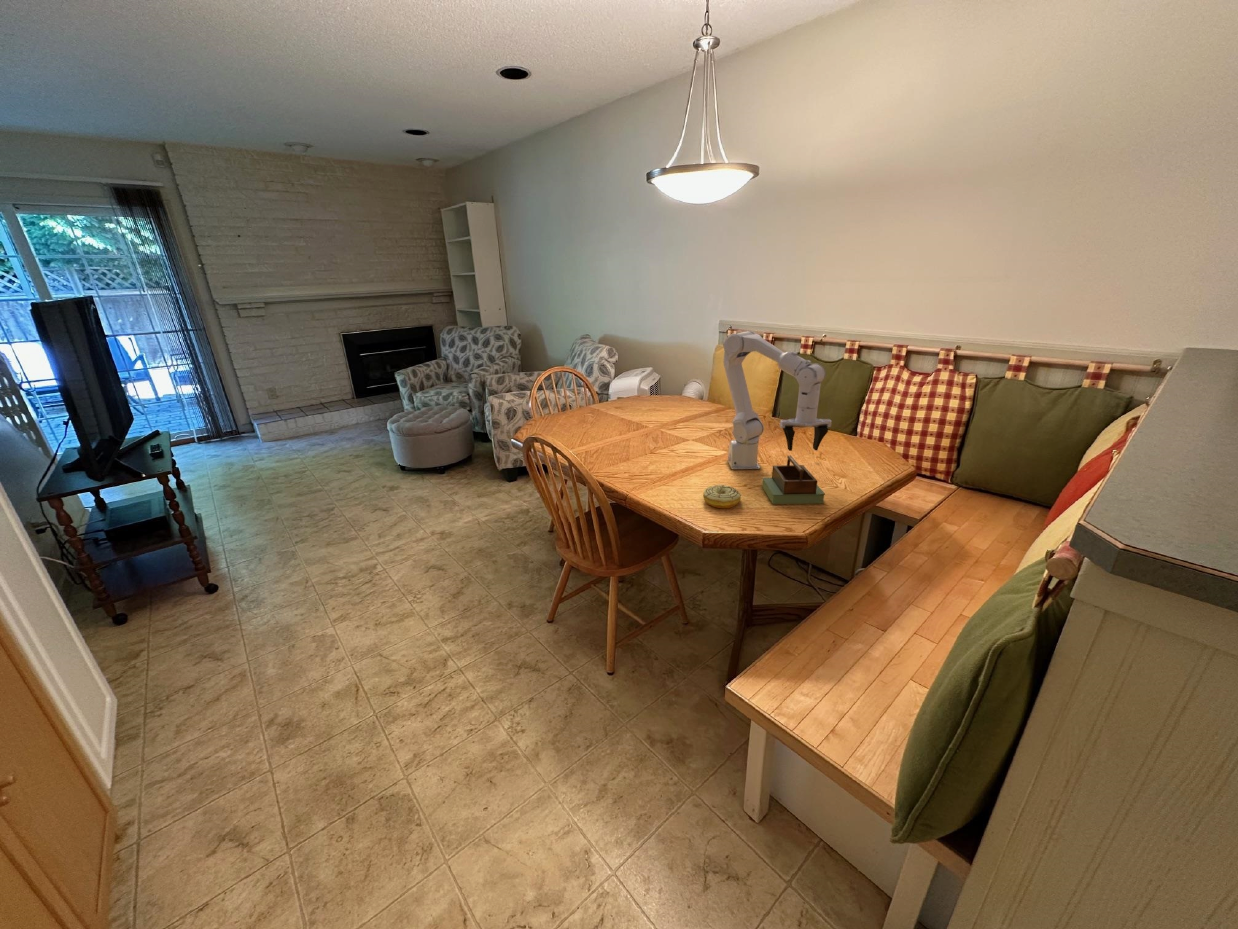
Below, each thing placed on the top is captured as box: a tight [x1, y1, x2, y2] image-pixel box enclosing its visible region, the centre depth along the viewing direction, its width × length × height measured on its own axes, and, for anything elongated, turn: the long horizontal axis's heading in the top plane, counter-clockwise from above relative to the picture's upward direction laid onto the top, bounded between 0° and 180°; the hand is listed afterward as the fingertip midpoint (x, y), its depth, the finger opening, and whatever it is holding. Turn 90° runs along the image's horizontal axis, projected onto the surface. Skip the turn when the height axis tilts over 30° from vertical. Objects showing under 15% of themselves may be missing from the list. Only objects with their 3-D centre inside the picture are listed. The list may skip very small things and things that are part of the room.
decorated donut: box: [702, 484, 742, 509], centre depth 136 cm, size 10×11×4 cm
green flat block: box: [761, 476, 826, 505], centre depth 140 cm, size 14×12×3 cm
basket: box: [771, 454, 818, 494], centre depth 138 cm, size 9×12×7 cm
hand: (802, 449), depth 146 cm, fingers open, 7 cm apart
